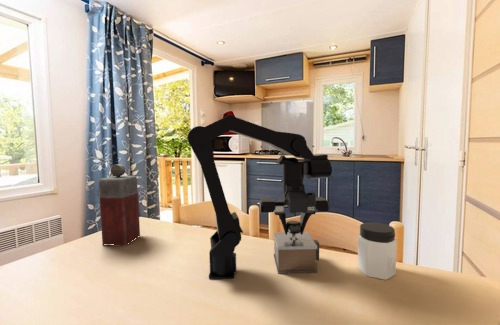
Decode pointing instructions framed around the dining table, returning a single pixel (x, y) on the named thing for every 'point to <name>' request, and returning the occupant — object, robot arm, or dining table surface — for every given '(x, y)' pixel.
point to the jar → (377, 250)
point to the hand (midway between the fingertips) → (293, 234)
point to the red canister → (119, 207)
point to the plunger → (293, 228)
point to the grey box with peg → (295, 253)
